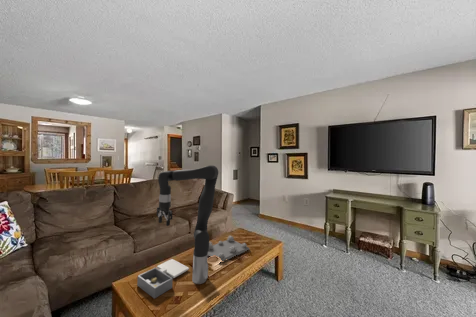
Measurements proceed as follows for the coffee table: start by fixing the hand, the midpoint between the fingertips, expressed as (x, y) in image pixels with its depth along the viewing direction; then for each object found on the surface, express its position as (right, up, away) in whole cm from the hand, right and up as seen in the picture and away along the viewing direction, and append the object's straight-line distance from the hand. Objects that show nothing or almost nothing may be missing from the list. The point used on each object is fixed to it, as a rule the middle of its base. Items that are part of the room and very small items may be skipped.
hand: (164, 224), depth 139 cm
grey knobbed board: (+40, -35, +34) cm, 63 cm away
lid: (+4, -33, +2) cm, 34 cm away
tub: (0, -34, -15) cm, 37 cm away
